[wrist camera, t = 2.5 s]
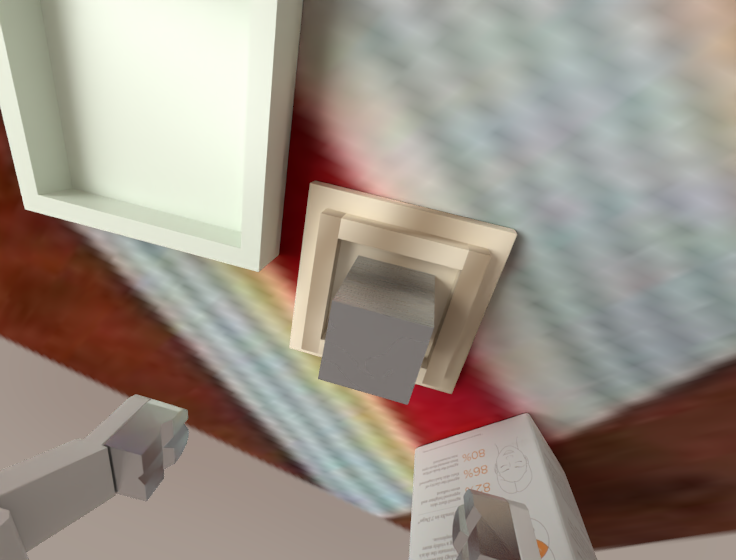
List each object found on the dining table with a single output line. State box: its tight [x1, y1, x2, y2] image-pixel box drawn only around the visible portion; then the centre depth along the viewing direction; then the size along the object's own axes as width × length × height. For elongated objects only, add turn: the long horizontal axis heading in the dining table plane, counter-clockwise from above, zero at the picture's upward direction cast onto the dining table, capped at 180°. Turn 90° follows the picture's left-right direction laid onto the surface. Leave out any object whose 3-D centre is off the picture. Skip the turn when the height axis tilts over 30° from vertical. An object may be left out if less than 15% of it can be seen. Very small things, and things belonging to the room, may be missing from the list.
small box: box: [409, 413, 597, 560], centre depth 19 cm, size 8×6×10 cm
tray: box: [0, 0, 303, 272], centre depth 16 cm, size 13×13×2 cm
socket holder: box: [289, 181, 517, 394], centre depth 19 cm, size 10×10×2 cm
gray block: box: [318, 255, 435, 405], centre depth 16 cm, size 4×4×5 cm
